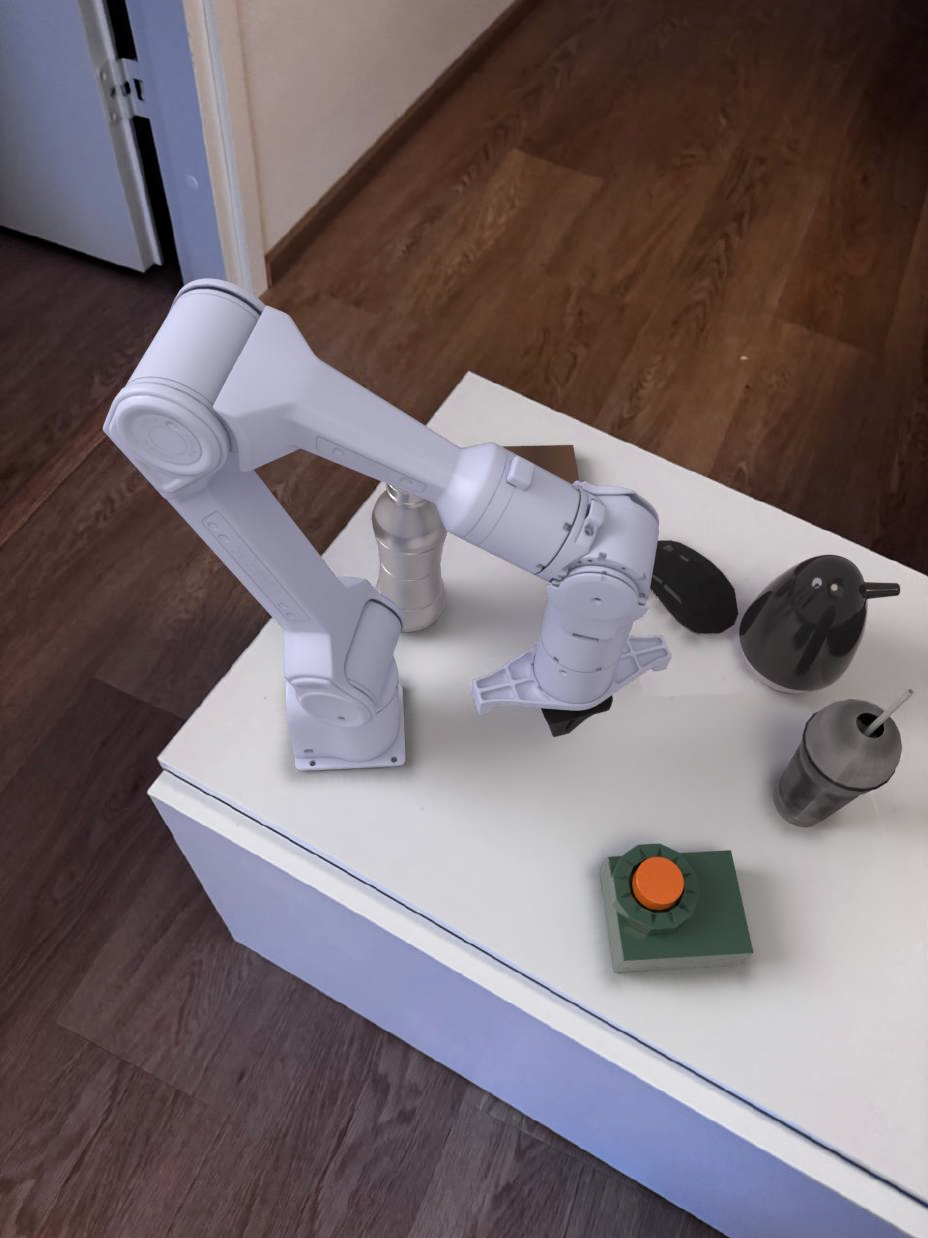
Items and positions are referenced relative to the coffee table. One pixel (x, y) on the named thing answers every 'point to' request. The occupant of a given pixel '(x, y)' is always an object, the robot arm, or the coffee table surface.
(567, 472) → the control panel
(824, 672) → the black bird figure
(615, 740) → the coffee table surface
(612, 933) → the button box
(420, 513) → the metal bottle
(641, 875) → the button
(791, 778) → the beverage cup
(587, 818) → the coffee table surface
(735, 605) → the gaming mouse
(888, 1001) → the coffee table surface
